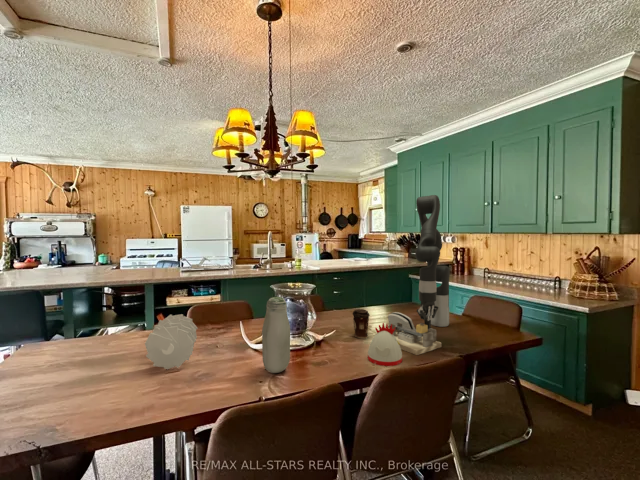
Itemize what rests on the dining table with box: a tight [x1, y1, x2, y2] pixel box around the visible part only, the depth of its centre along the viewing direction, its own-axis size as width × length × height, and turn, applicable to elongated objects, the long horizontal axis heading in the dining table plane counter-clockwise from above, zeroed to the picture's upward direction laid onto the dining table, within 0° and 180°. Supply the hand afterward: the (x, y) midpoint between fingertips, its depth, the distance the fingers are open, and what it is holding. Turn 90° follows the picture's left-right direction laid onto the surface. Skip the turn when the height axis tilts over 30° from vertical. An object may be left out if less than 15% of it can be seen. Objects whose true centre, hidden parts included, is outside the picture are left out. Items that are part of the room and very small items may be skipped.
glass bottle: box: [261, 296, 291, 374], centre depth 121 cm, size 10×10×28 cm
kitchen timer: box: [367, 322, 403, 367], centre depth 133 cm, size 14×14×15 cm
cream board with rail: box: [392, 322, 442, 356], centre depth 151 cm, size 17×22×8 cm
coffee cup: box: [352, 308, 370, 339], centre depth 162 cm, size 9×8×13 cm
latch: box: [415, 322, 428, 333], centre depth 145 cm, size 4×3×4 cm
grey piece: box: [387, 311, 416, 330], centre depth 173 cm, size 17×5×10 cm, turn 28°
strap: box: [396, 325, 425, 337], centre depth 151 cm, size 3×17×1 cm, turn 35°
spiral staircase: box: [144, 313, 199, 370], centre depth 132 cm, size 18×18×25 cm
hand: (427, 328), depth 147 cm, fingers closed
